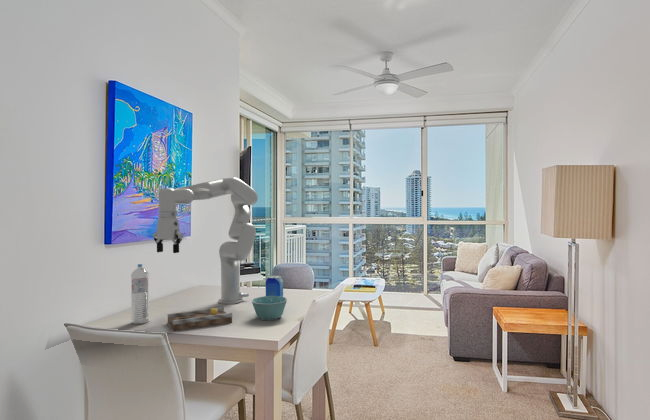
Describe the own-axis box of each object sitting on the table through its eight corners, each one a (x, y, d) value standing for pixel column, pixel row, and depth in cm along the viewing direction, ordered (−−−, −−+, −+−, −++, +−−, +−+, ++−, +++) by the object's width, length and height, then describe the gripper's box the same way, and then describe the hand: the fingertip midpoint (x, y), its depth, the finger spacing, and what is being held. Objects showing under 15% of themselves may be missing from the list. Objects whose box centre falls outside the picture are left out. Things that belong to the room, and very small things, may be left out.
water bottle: (134, 320, 183) (134, 263, 183) (150, 320, 184) (150, 263, 184) (128, 324, 176) (128, 265, 176) (145, 324, 177) (145, 265, 177)
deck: (223, 316, 190) (223, 307, 190) (232, 322, 179) (232, 313, 179) (167, 323, 178) (167, 313, 178) (173, 330, 167) (173, 320, 167)
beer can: (286, 308, 205) (286, 275, 205) (277, 312, 197) (277, 278, 197) (271, 306, 208) (271, 274, 208) (262, 310, 201) (262, 277, 201)
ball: (216, 314, 184) (216, 306, 184) (218, 315, 181) (218, 308, 181) (209, 315, 182) (209, 307, 182) (211, 316, 180) (211, 309, 180)
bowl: (272, 324, 177) (272, 304, 177) (244, 319, 185) (244, 300, 185) (294, 316, 190) (294, 298, 190) (267, 312, 198) (267, 294, 198)
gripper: (187, 215, 193) (188, 252, 193) (159, 215, 200) (159, 250, 200) (176, 215, 186) (176, 254, 186) (147, 215, 193) (147, 252, 193)
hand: (168, 252), depth 193 cm, fingers open, 9 cm apart
